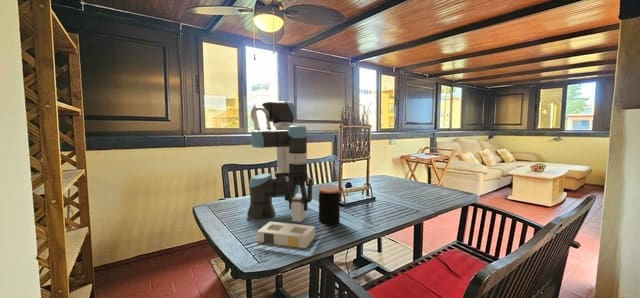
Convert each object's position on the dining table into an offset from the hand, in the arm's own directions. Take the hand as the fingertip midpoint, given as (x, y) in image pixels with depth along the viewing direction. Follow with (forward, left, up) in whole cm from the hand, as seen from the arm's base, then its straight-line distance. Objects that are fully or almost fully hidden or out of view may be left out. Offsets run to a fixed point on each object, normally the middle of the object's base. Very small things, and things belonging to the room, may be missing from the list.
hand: (298, 217), depth 117 cm
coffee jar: (+6, +27, -12) cm, 30 cm away
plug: (0, 0, -1) cm, 1 cm away
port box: (-6, 0, -12) cm, 13 cm away
